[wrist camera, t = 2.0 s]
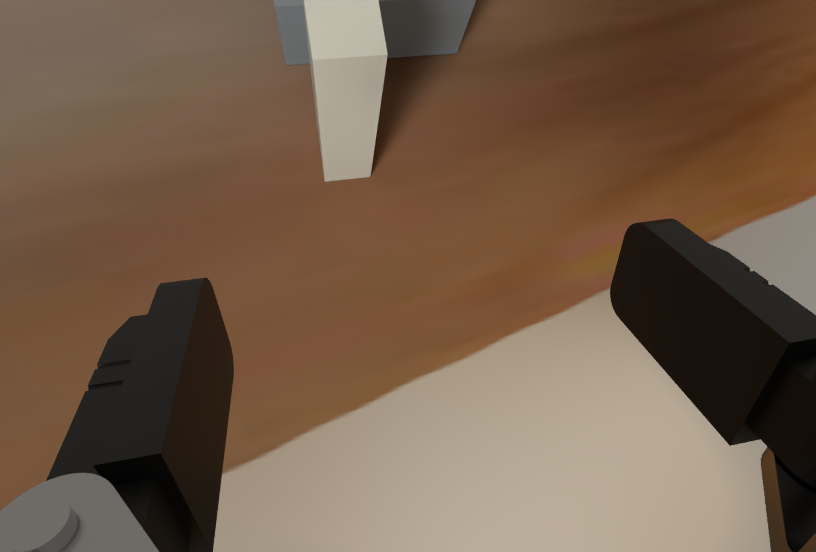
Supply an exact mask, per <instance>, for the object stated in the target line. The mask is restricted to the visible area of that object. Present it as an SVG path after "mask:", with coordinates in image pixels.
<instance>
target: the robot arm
mask: <svg viewBox="0 0 816 552" xmlns="http://www.w3.org/2000/svg"><path fill="white" fill-rule="evenodd" d="M610 297H611V303H612V306H613V309H614V311H615V313H616V315H617V316H618V317H619V318H620V320H621V321H622V322H623V323H624V324H625V325H626V327H627V328H628V329H629V330H630V331H631V332H632V333H633V335H634V336H635V337H636V338H637V339H638V340H639V342H640V343H641V344H642V345H643V346H644V347H645V348H646V350H647V351H648V352H649V353H650V354H651V355H652V356H653V358H654V359H655V360H656V361H657V362H658V363H659V365H660V366H661V367H662V368H663V369H664V370H665V371H666V373H667V374H668V375H669V376H670V377H671V378H672V380H673V381H674V382H675V383H676V384H677V385H678V386H679V388H681V390H682V391H683V392H684V393H685V394H686V396H687V397H688V398H689V399H690V400H691V401H692V402H693V404H694V405H695V406H696V407H697V408H698V409H699V411H700V412H701V413H702V414H703V415H704V416H705V418H706V419H707V420H708V421H709V422H710V423H711V424H712V426H713V427H714V428H715V429H716V430H717V431H718V432H719V434H720V435H721V436H722V437H723V438H724V439H725V441H727V443H728V444H729V445H730V446H731V445H735V444H740V443H745V442H749V441H754V440H759V439H761V440H762V441H763V442H764V443H765V444H766V445H767V446H768V447H767V448H766V450H765V451H764V453H763V454H762V457H761V470H762V479H763V487H764V496H765V504H766V513H767V521H768V530H769V538H770V547H771V552H816V315H815V314H813V313H812V312H810V311H809V310H808V309H806V308H805V307H803V306H802V305H801V304H799V303H798V302H797V301H795V300H793V299H792V298H791V297H790V296H788V295H787V294H785V293H784V292H783V291H781V290H780V289H778V288H777V287H776V286H774V285H769V284H768V281H767V280H766V279H764V278H763V277H762V276H760V275H759V274H757V273H756V272H755V271H753V272H751V271H750V268H749V267H748V266H746V265H745V264H744V263H742V262H741V261H740V260H738V259H736V258H735V257H734V256H732V255H731V254H730V253H728V252H727V251H724V250H722V249H720V248H717V247H715V246H713V245H711V244H709V243H707V242H706V241H704V240H703V239H702V238H700V237H699V236H698V235H696V234H695V233H693V232H692V231H691V230H689V229H688V228H687V227H685V226H684V225H683V224H681V223H680V222H678V221H677V220H674V219H664V220H656V221H648V222H640V223H634V224H632V225H631V226H630V227H629V228H628V229H627V231H626V233H625V236H624V240H623V243H622V247H621V251H620V254H619V258H618V262H617V265H616V269H615V273H614V277H613V280H612V284H611V289H610ZM97 365H98V369H96V370H95V371H94V373H93V375H92V378H91V380H90V382H89V384H88V388H89V390H88V391H85V394H84V396H83V398H82V400H81V403H80V405H79V407H78V409H77V412H76V414H75V416H74V419H73V421H72V423H71V425H70V428H69V430H68V432H67V435H66V437H65V439H64V441H63V444H62V446H61V448H60V451H59V453H58V455H57V457H56V460H55V462H54V464H53V467H52V469H51V471H50V473H49V476H48V478H47V480H46V481H45V482H43V483H41V484H39V485H37V486H35V487H33V488H31V489H30V490H28V491H26V492H25V493H23V494H22V495H20V496H19V497H17V498H16V499H14V500H13V501H12V502H11V503H9V504H8V505H7V506H6V507H5V508H3V509H2V510H1V511H0V552H213V545H214V536H215V528H216V520H217V511H218V503H219V494H220V486H221V477H222V469H223V461H224V452H225V444H226V435H227V427H228V418H229V410H230V401H231V393H232V384H233V375H234V366H233V355H232V349H231V344H230V341H229V338H228V335H227V331H226V328H225V325H224V322H223V319H222V316H221V312H220V309H219V306H218V303H217V300H216V297H215V293H214V290H213V287H212V285H211V283H210V281H209V280H208V278H199V279H191V280H183V281H176V282H168V283H161V284H160V285H159V286H158V288H157V290H156V293H155V296H154V299H153V301H152V304H151V307H150V310H149V312H148V315H141V316H134V317H130V318H129V319H128V320H127V321H126V322H125V323H124V324H123V325H122V326H121V327H120V328H119V329H118V330H117V331H116V332H115V333H114V334H113V335H112V336H111V337H110V338H109V339H108V341H107V343H106V346H105V348H104V350H103V352H102V355H101V357H100V359H99V362H98V364H97Z"/></svg>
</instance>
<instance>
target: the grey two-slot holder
mask: <svg viewBox="0 0 816 552" xmlns="http://www.w3.org/2000/svg"><path fill="white" fill-rule="evenodd" d="M378 1H379V7H380V13H381V19H382V25H383V30H384V36H385V42H386V48H387V54H388V56H387V58H397V57H411V56H426V55H441V54H455V53H457V52H458V49H459V46H460V44H461V41H462V38H463V35H464V32H465V30H466V27H467V24H468V21H469V19H470V16H471V13H472V10H473V8H474V5H475V2H476V0H378ZM274 7H275V12H276V17H277V22H278V27H279V33H280V38H281V43H282V48H283V53H284V58H285V64H286V65H294V64H308V63H310V59H309V50H308V41H307V32H306V23H305V14H304V5H303V0H274Z"/></svg>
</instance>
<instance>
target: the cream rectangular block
mask: <svg viewBox="0 0 816 552" xmlns="http://www.w3.org/2000/svg"><path fill="white" fill-rule="evenodd" d="M303 5H304V14H305V23H306V32H307V41H308V50H309V59H310V68H311V77H312V86H313V95H314V104H315V113H316V122H317V129H318V136H319V144H320V151H321V158H322V165H323V172H324V179H325V182H326V181H335V180H345V179H354V178H364V177H370V176H371V169H372V162H373V155H374V148H375V141H376V134H377V126H378V119H379V112H380V105H381V98H382V91H383V84H384V77H385V70H386V63H387V56H388V54H387V48H386V42H385V36H384V30H383V25H382V19H381V13H380V7H379V1H378V0H303Z"/></svg>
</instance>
